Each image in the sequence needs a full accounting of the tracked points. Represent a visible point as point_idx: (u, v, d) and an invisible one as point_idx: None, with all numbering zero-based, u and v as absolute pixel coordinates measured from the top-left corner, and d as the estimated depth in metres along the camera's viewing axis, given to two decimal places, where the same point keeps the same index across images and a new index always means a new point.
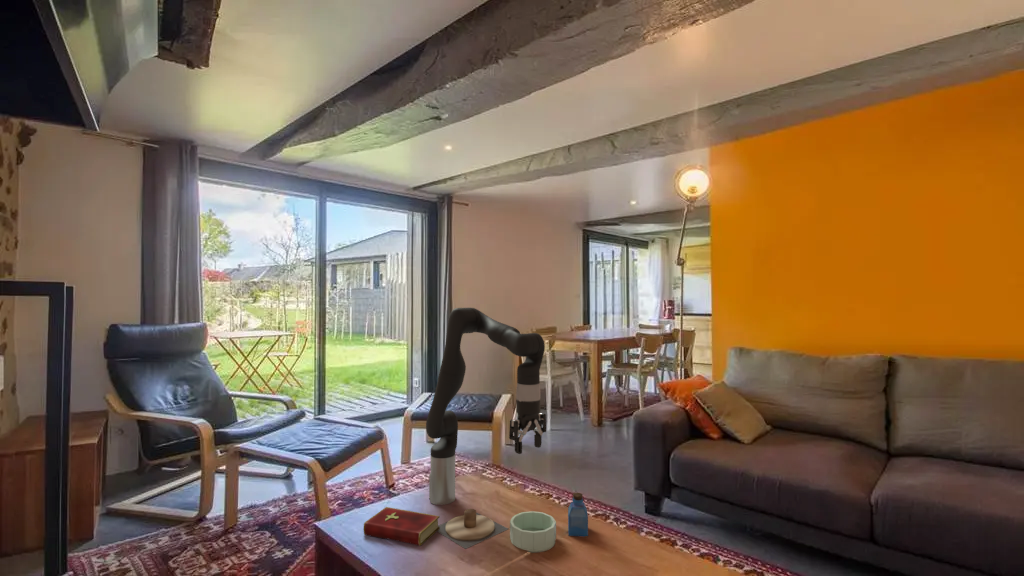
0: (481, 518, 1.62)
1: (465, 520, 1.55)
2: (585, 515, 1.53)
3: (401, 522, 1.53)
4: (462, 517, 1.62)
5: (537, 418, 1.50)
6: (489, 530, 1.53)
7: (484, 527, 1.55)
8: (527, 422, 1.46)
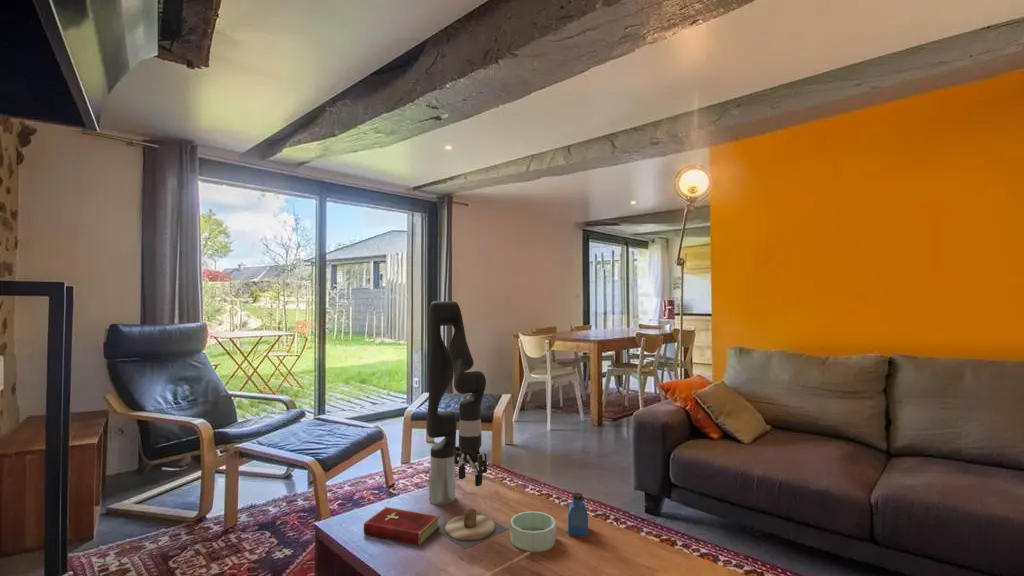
0: (481, 518, 1.62)
1: (465, 520, 1.55)
2: (585, 515, 1.53)
3: (401, 522, 1.53)
4: (462, 517, 1.62)
5: None
6: (489, 530, 1.53)
7: (484, 527, 1.55)
8: None
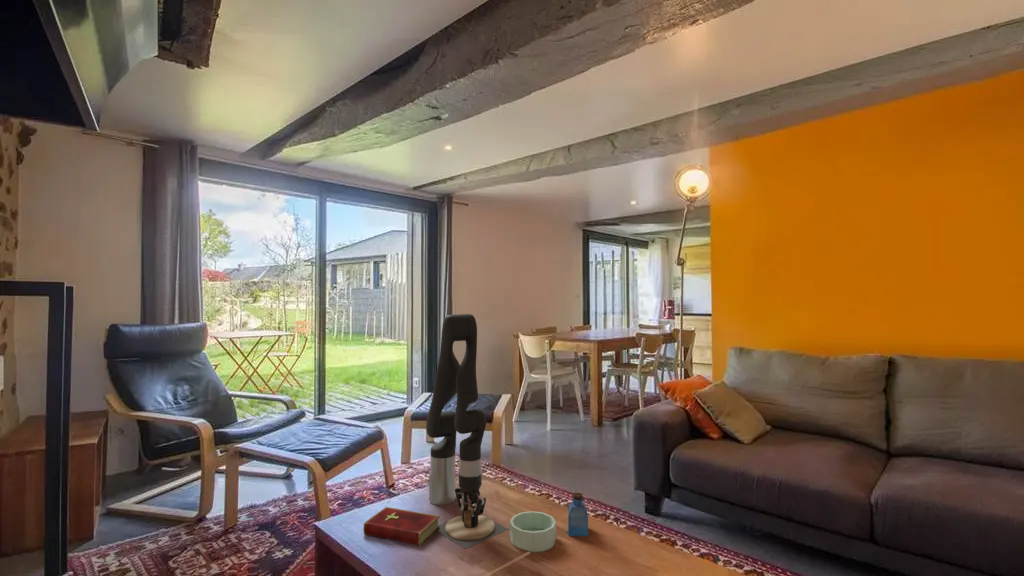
0: (481, 518, 1.62)
1: (465, 520, 1.55)
2: (585, 515, 1.53)
3: (401, 522, 1.53)
4: None
5: None
6: (489, 530, 1.53)
7: (484, 527, 1.55)
8: None
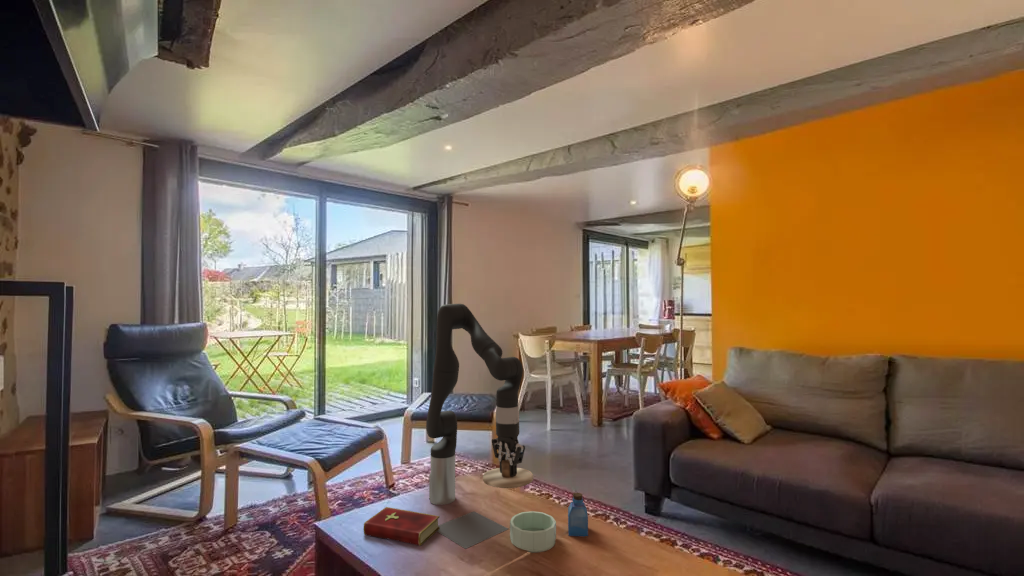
0: (518, 470, 1.57)
1: (503, 469, 1.51)
2: (585, 515, 1.53)
3: (401, 522, 1.53)
4: (499, 469, 1.58)
5: None
6: (528, 479, 1.49)
7: (523, 477, 1.51)
8: None
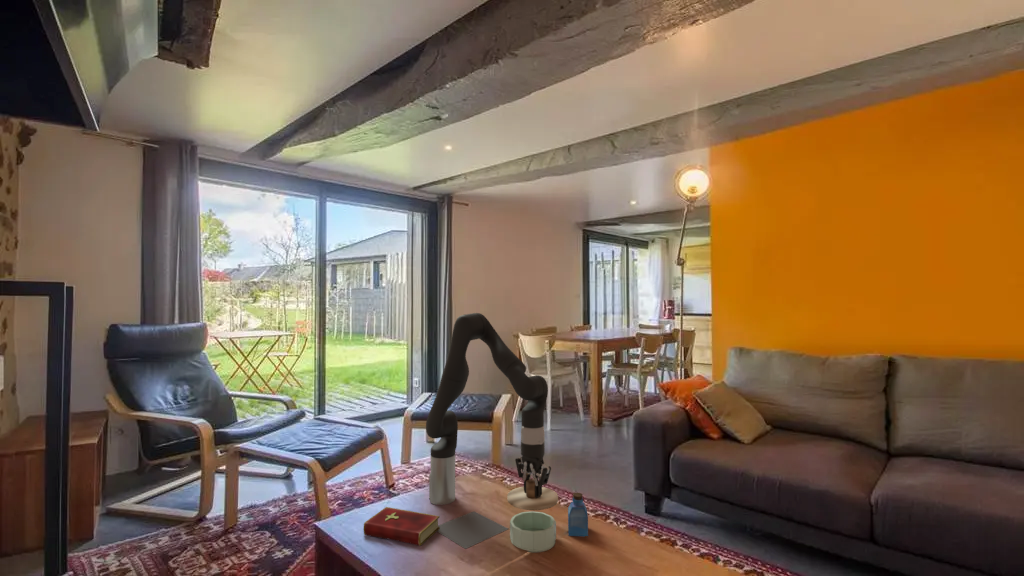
0: (542, 489, 1.55)
1: (528, 490, 1.49)
2: (585, 515, 1.53)
3: (401, 522, 1.53)
4: (522, 488, 1.56)
5: None
6: (554, 500, 1.47)
7: (548, 497, 1.49)
8: None
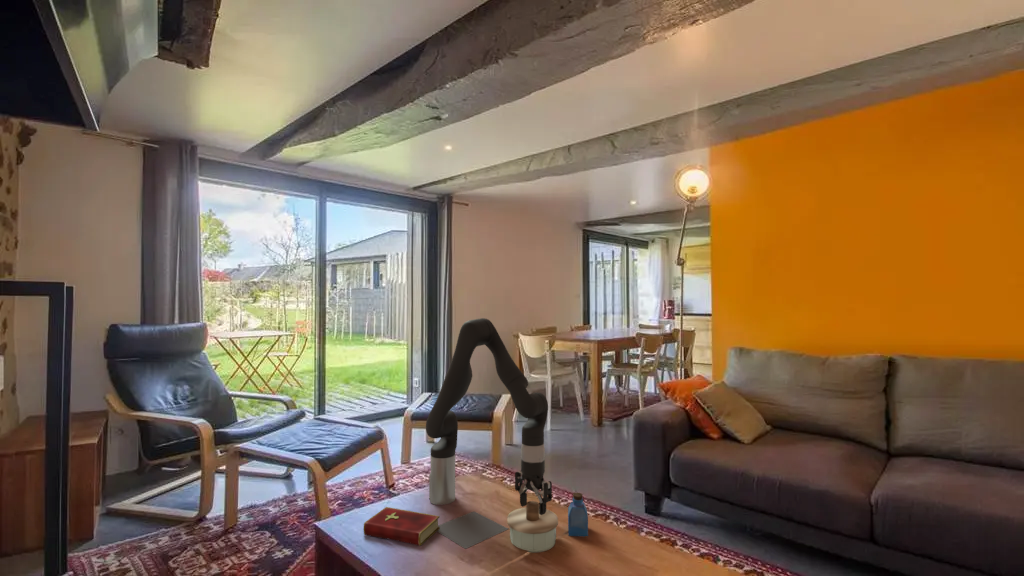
0: None
1: (528, 513, 1.49)
2: (585, 515, 1.53)
3: (401, 522, 1.53)
4: (522, 510, 1.56)
5: None
6: (554, 523, 1.47)
7: (548, 520, 1.49)
8: None
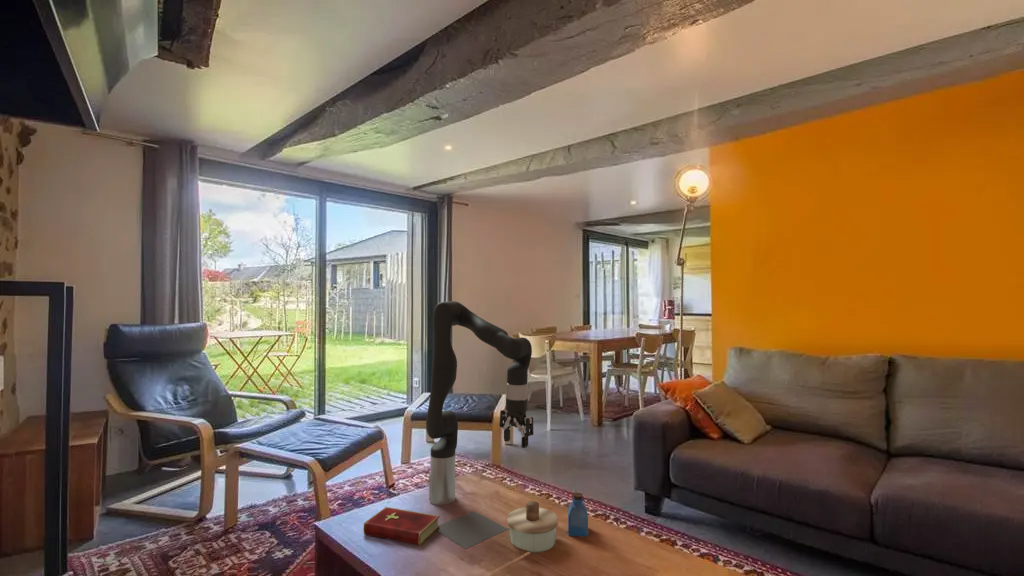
0: (542, 511, 1.55)
1: (528, 513, 1.49)
2: (585, 515, 1.53)
3: (401, 522, 1.53)
4: (522, 510, 1.56)
5: None
6: (554, 523, 1.47)
7: (548, 520, 1.49)
8: None
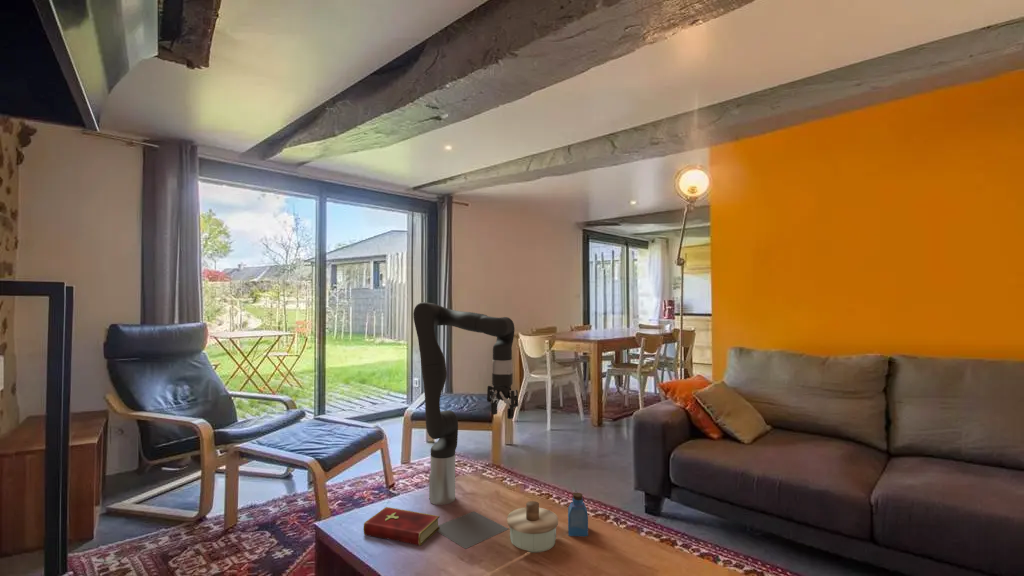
0: (542, 511, 1.55)
1: (528, 513, 1.49)
2: (585, 515, 1.53)
3: (401, 522, 1.53)
4: (522, 510, 1.56)
5: None
6: (554, 523, 1.47)
7: (548, 520, 1.49)
8: None
